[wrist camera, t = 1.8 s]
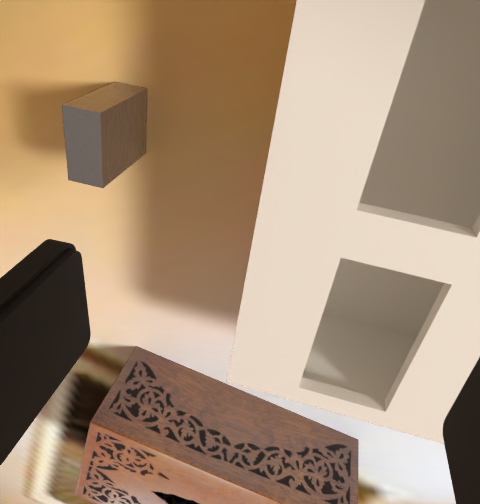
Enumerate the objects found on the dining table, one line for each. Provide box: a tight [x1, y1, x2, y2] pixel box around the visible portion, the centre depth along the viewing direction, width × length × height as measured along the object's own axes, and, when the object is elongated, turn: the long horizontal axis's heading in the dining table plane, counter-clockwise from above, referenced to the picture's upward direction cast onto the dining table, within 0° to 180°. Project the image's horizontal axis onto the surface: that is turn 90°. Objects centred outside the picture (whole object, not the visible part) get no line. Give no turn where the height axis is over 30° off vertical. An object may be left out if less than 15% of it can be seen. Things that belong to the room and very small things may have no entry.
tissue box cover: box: [74, 346, 358, 504], centre depth 47 cm, size 26×14×10 cm, turn 71°
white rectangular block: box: [226, 0, 480, 444], centre depth 27 cm, size 28×16×10 cm, turn 172°
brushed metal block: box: [62, 82, 147, 188], centre depth 31 cm, size 5×2×7 cm, turn 172°
